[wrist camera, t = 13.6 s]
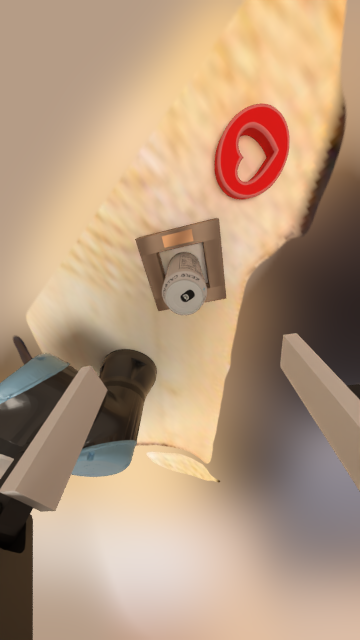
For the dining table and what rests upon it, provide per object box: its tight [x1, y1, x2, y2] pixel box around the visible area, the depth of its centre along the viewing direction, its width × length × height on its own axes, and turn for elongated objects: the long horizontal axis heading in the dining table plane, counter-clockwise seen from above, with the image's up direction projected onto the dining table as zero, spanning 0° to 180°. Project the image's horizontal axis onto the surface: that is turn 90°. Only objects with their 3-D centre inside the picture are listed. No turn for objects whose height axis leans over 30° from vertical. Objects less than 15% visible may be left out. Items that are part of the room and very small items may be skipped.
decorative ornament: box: [215, 104, 289, 199], centre depth 25 cm, size 10×10×3 cm
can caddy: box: [135, 218, 226, 311], centre depth 33 cm, size 14×14×3 cm
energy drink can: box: [162, 252, 207, 315], centre depth 28 cm, size 6×6×15 cm
